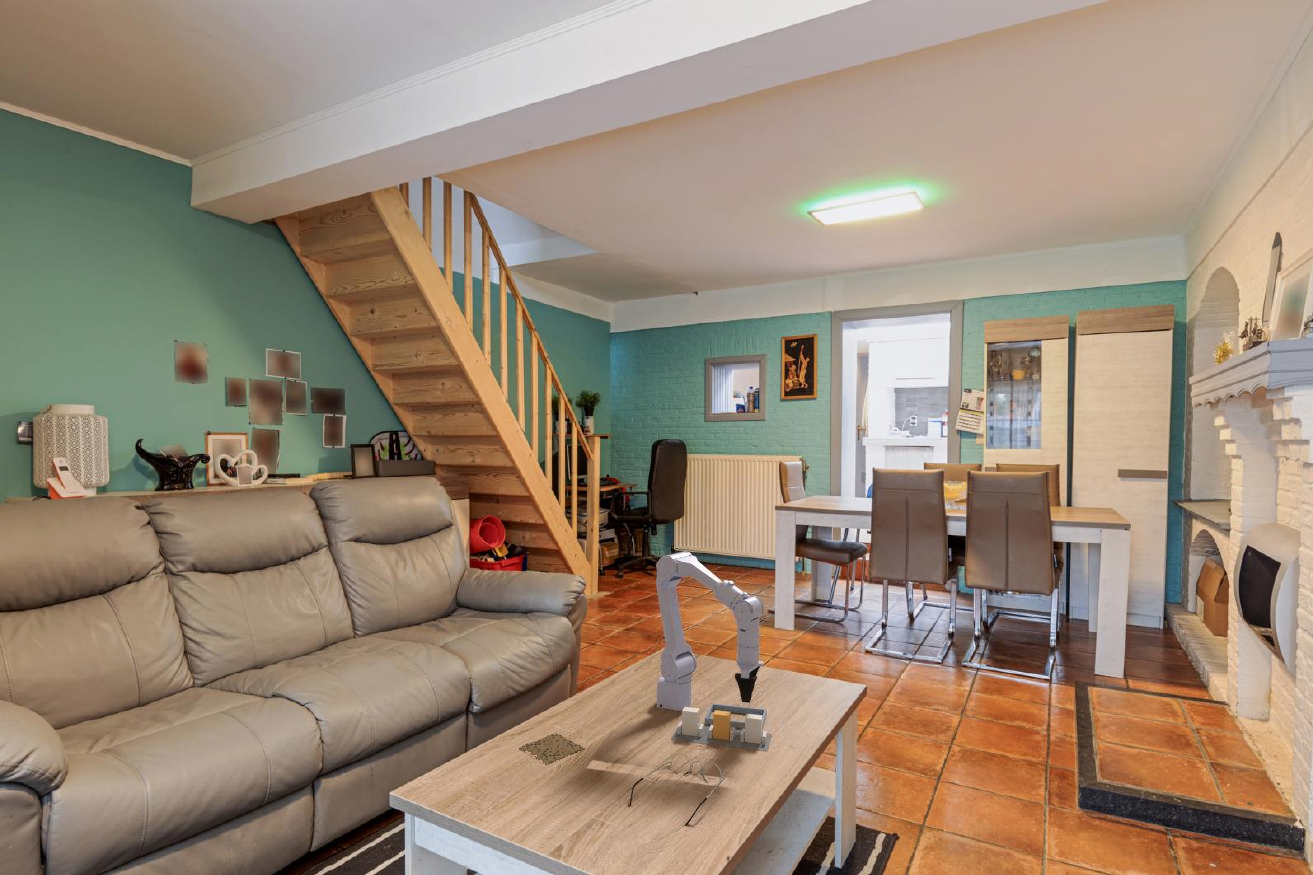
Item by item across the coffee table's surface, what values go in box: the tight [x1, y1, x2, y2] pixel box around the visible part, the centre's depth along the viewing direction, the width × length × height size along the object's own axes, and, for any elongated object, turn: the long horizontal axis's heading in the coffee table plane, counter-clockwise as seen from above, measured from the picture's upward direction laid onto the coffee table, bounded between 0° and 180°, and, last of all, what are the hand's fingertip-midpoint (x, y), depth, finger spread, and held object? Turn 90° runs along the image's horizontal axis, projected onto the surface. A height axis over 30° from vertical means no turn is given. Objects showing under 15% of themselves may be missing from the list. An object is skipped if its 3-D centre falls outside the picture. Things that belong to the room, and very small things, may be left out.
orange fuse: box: [712, 710, 732, 740], centre depth 174 cm, size 4×3×6 cm, turn 76°
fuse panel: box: [670, 720, 773, 753], centre depth 174 cm, size 24×10×4 cm, turn 75°
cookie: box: [518, 733, 585, 766], centre depth 170 cm, size 12×12×1 cm
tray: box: [704, 703, 767, 732], centre depth 185 cm, size 15×10×3 cm
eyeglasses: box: [629, 753, 726, 826], centre depth 149 cm, size 16×19×5 cm
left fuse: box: [681, 706, 701, 736], centre depth 176 cm, size 4×3×6 cm, turn 76°
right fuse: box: [744, 714, 763, 744], centre depth 172 cm, size 4×3×6 cm, turn 76°
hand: (747, 696), depth 180 cm, fingers open, 7 cm apart
